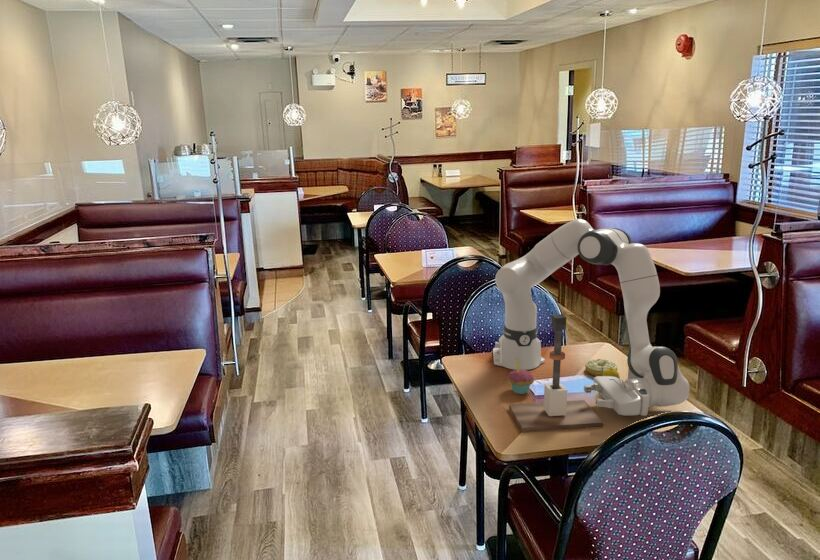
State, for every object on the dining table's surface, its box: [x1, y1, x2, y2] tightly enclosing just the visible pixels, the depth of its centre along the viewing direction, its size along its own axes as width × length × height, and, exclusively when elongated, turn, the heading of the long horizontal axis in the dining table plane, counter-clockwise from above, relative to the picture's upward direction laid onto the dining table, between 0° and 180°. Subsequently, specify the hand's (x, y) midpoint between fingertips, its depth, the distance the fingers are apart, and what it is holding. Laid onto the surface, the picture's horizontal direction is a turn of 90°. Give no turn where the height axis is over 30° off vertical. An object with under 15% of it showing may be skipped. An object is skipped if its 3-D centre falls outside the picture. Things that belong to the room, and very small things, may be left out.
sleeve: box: [543, 382, 568, 416], centre depth 189 cm, size 5×5×8 cm
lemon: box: [603, 368, 621, 380], centre depth 207 cm, size 6×6×8 cm
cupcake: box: [507, 358, 535, 395], centre depth 207 cm, size 9×8×12 cm
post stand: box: [508, 313, 604, 433], centre depth 186 cm, size 15×24×32 cm, turn 96°
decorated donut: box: [584, 358, 618, 377], centre depth 222 cm, size 10×11×4 cm
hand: (590, 395), depth 190 cm, fingers open, 8 cm apart
